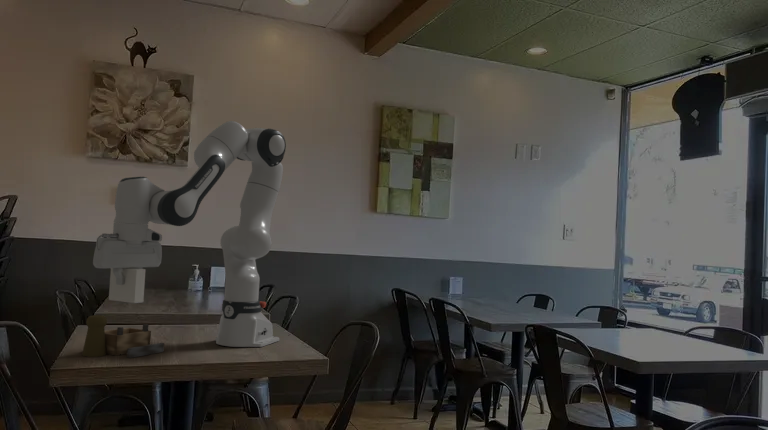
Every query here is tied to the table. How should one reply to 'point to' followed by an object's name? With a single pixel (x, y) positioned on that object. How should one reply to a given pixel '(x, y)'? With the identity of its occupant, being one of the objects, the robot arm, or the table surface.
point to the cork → (95, 336)
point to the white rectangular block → (128, 286)
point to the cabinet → (131, 342)
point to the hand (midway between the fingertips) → (127, 284)
